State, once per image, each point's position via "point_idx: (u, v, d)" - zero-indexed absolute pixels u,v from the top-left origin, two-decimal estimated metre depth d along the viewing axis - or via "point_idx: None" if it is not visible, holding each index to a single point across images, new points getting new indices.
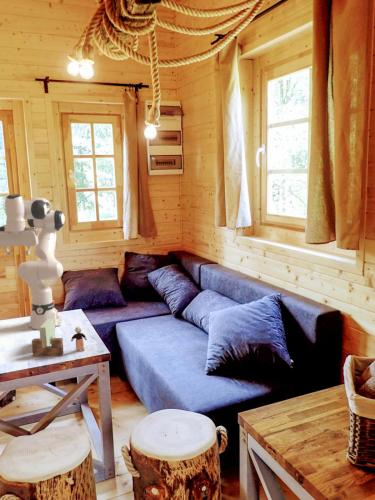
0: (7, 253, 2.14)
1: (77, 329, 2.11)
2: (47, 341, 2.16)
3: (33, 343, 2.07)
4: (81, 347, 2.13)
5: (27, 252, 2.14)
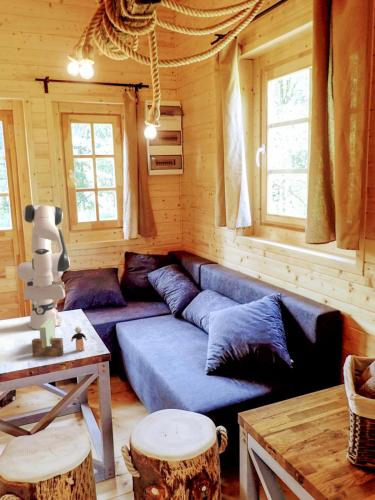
0: (35, 306, 2.18)
1: (77, 329, 2.11)
2: (47, 341, 2.16)
3: (33, 343, 2.07)
4: (81, 347, 2.13)
5: (54, 305, 2.18)
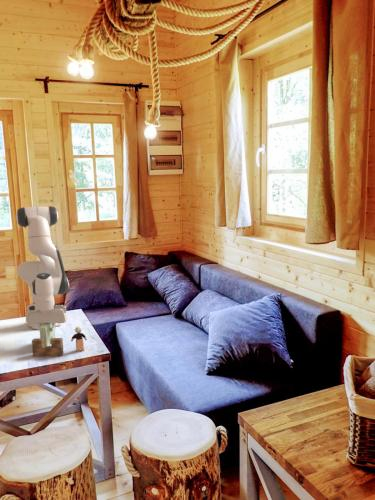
0: None
1: (77, 329, 2.11)
2: (47, 341, 2.16)
3: (33, 343, 2.07)
4: (81, 347, 2.13)
5: (51, 329, 2.20)
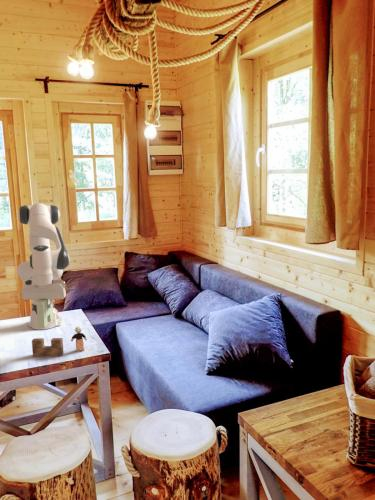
0: None
1: (77, 329, 2.11)
2: (45, 318, 2.01)
3: (33, 343, 2.07)
4: (81, 347, 2.13)
5: (49, 305, 2.05)
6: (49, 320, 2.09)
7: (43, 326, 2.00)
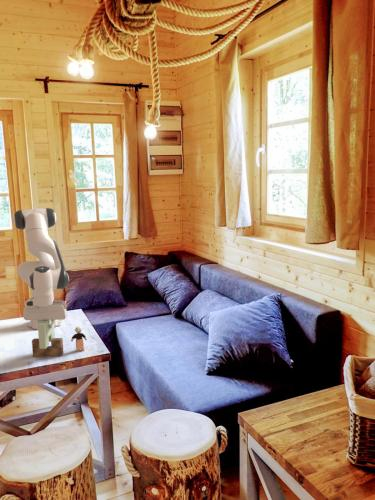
0: None
1: (77, 329, 2.11)
2: (46, 339, 2.02)
3: (33, 343, 2.07)
4: (81, 347, 2.13)
5: (50, 326, 2.06)
6: (50, 340, 2.10)
7: (44, 347, 2.01)
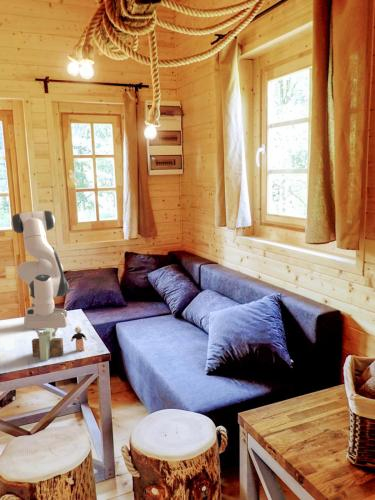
0: (38, 335, 2.07)
1: (77, 329, 2.11)
2: (47, 351, 2.03)
3: (33, 343, 2.07)
4: (81, 347, 2.13)
5: (53, 334, 2.07)
6: None
7: (45, 359, 2.03)
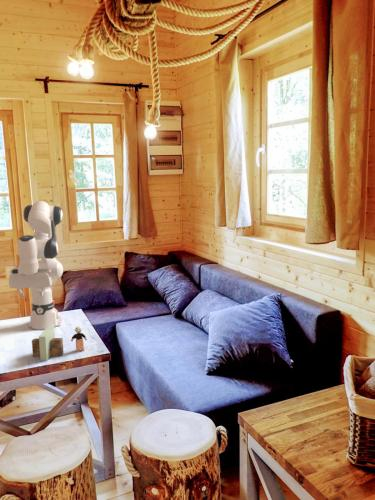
0: (20, 294, 2.12)
1: (77, 329, 2.11)
2: (47, 351, 2.03)
3: (33, 343, 2.07)
4: (81, 347, 2.13)
5: (41, 293, 2.12)
6: None
7: (45, 359, 2.03)
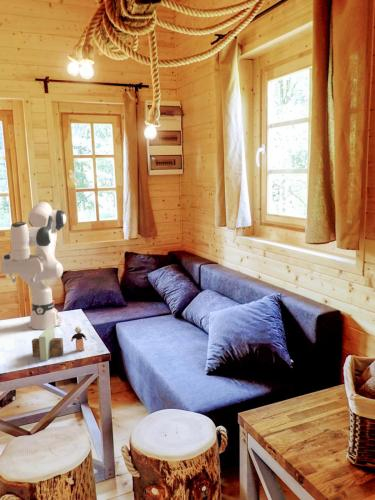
0: (12, 280, 2.15)
1: (77, 329, 2.11)
2: (47, 351, 2.03)
3: (33, 343, 2.07)
4: (81, 347, 2.13)
5: (32, 279, 2.15)
6: None
7: (45, 359, 2.03)
